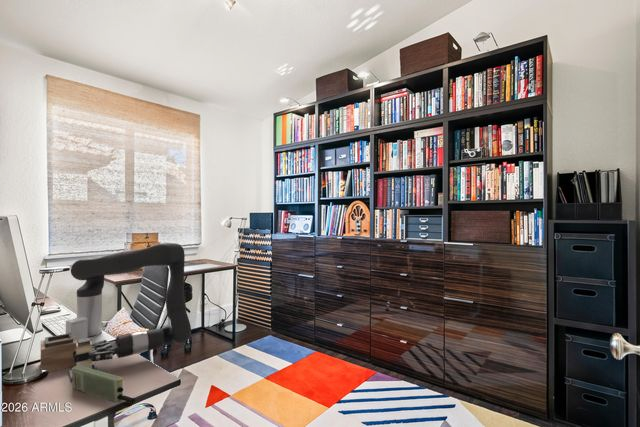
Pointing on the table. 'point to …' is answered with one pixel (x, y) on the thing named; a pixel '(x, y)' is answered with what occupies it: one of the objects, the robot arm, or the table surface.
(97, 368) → the low socket
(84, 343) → the beech plug
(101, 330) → the robot arm
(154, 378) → the table surface
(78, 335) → the skincare box
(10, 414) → the table surface
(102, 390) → the handheld radio
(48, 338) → the walnut dock
